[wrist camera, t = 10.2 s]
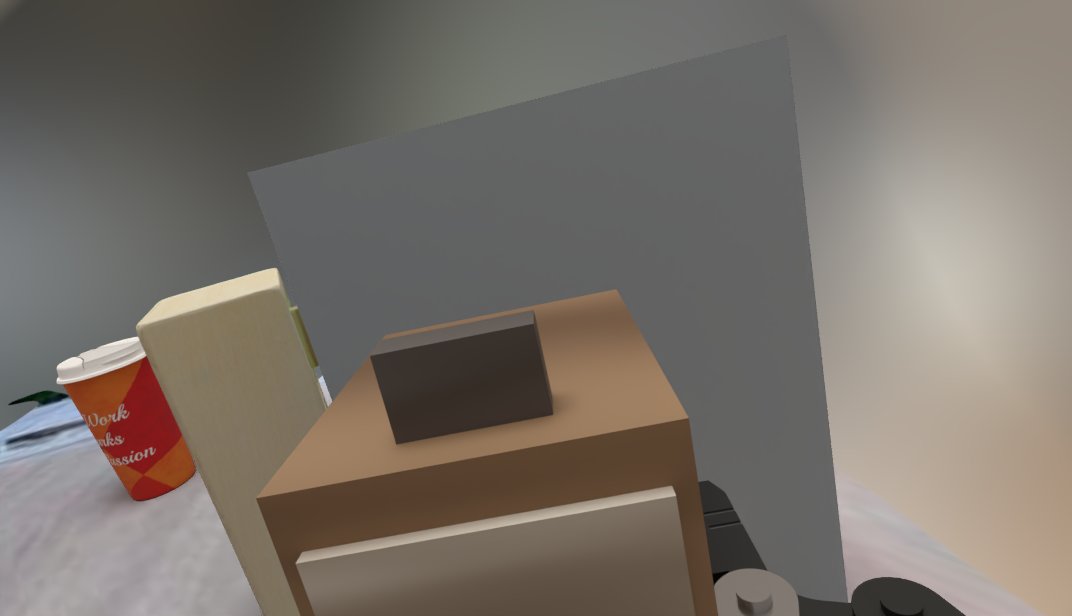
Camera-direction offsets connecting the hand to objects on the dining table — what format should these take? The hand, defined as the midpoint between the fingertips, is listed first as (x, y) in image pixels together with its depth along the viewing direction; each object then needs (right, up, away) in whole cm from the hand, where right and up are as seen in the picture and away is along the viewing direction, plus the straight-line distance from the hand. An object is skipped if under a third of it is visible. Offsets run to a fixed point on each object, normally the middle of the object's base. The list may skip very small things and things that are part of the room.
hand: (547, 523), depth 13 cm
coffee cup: (-39, -13, +48) cm, 63 cm away
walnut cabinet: (+1, -7, -1) cm, 7 cm away
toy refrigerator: (-12, -14, +24) cm, 30 cm away
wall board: (+5, -12, +16) cm, 20 cm away
